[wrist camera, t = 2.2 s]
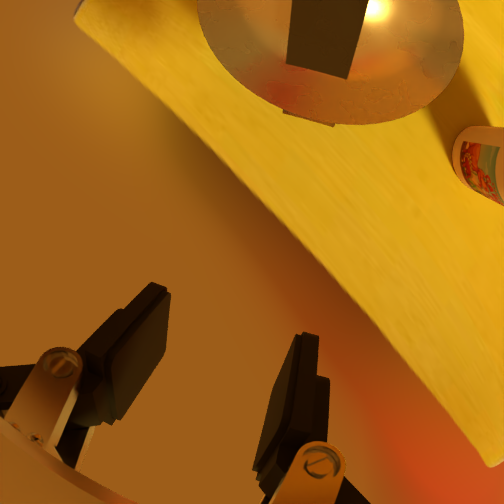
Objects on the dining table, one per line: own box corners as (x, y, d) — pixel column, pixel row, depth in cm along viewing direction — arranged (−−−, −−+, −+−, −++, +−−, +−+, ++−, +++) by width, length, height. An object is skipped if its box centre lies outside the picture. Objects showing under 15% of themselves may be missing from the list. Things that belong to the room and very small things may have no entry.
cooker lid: (405, 143, 22) (403, 176, 21) (215, 90, 24) (198, 118, 23) (494, -31, 7) (516, -13, 5) (199, -100, 8) (167, -93, 7)
